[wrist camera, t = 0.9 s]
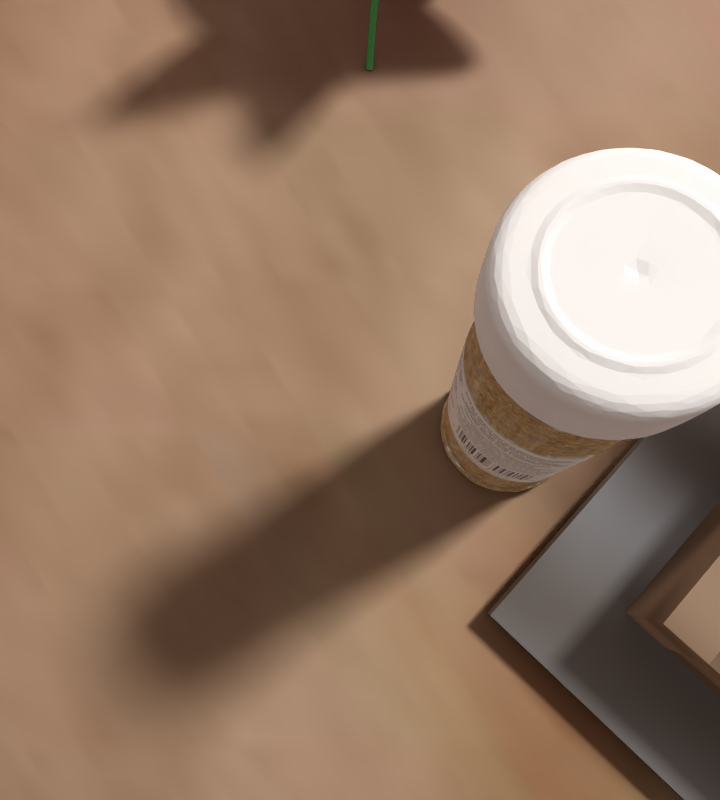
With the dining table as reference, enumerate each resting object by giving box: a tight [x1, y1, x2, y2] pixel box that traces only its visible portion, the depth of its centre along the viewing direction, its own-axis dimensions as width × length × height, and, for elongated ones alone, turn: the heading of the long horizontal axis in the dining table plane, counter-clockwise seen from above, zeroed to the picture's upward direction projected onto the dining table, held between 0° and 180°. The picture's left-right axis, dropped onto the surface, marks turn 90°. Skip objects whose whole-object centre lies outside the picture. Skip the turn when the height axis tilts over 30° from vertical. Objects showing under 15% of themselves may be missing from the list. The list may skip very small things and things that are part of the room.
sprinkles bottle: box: [441, 148, 720, 492], centre depth 16 cm, size 5×5×14 cm
